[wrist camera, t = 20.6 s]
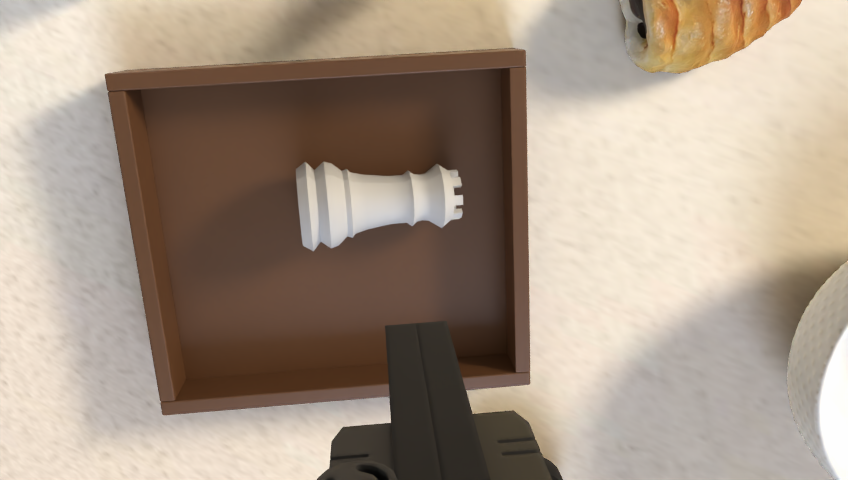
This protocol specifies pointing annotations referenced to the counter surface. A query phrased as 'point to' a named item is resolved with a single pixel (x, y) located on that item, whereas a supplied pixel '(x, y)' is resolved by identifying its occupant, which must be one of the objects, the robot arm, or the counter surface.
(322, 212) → the rook chess piece
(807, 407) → the cereal bowl
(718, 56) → the pastry
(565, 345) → the counter surface
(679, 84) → the counter surface
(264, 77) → the tray
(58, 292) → the counter surface
